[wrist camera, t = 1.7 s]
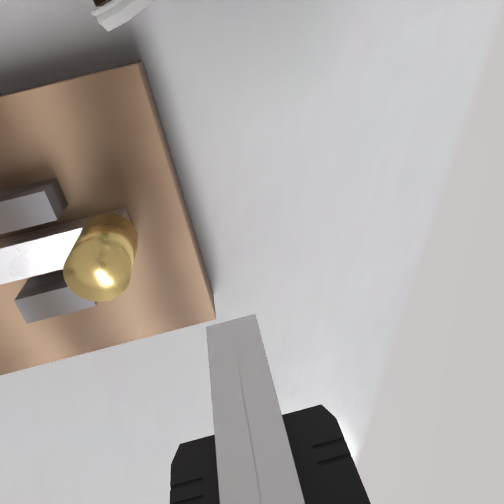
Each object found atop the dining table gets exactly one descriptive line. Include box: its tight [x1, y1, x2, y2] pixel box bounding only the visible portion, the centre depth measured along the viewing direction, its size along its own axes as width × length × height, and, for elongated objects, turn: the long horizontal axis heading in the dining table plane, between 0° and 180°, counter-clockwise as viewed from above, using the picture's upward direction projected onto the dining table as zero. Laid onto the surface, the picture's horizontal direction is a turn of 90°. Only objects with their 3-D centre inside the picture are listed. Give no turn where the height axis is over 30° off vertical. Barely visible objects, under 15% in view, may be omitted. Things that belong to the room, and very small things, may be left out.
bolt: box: [0, 208, 138, 302], centre depth 23 cm, size 8×3×6 cm, turn 102°
